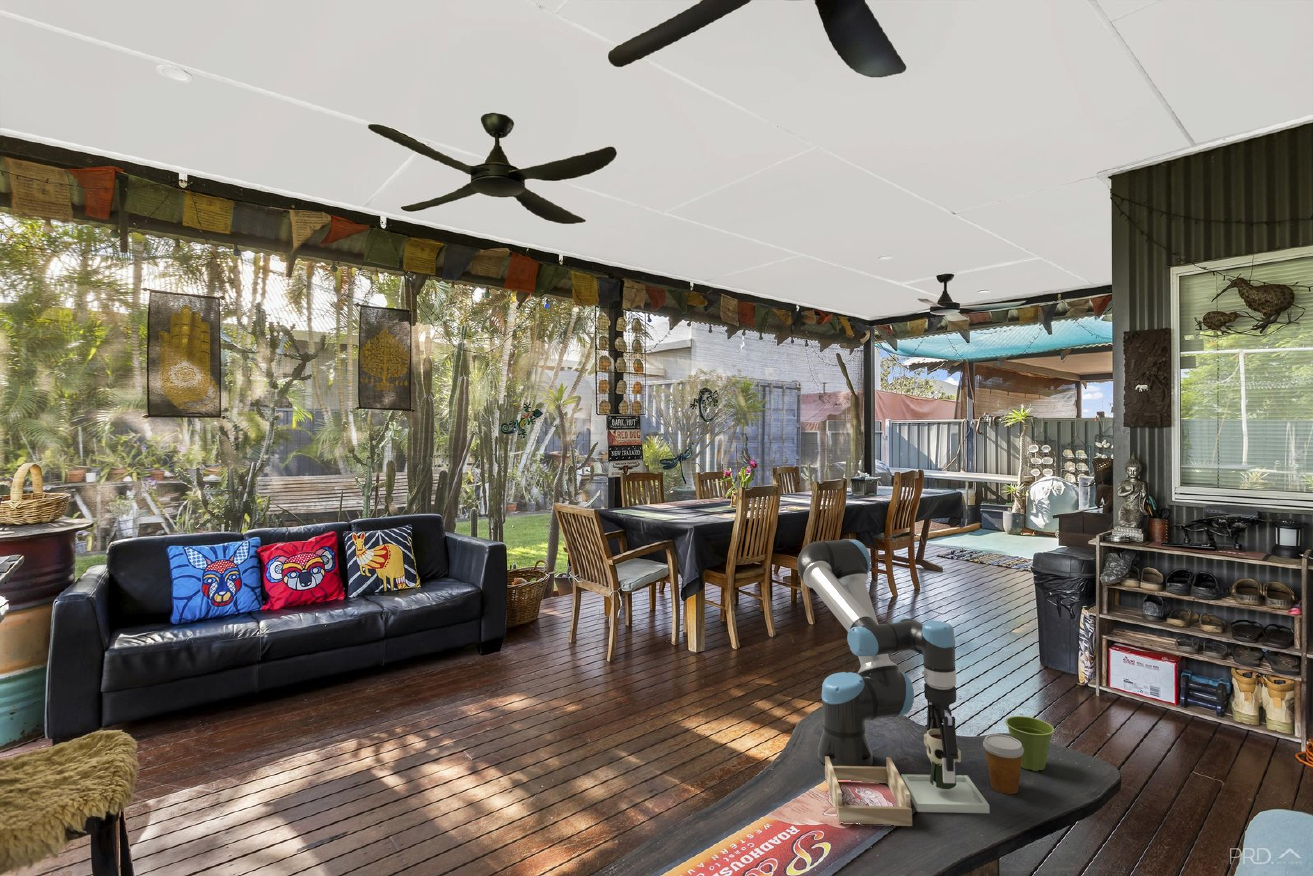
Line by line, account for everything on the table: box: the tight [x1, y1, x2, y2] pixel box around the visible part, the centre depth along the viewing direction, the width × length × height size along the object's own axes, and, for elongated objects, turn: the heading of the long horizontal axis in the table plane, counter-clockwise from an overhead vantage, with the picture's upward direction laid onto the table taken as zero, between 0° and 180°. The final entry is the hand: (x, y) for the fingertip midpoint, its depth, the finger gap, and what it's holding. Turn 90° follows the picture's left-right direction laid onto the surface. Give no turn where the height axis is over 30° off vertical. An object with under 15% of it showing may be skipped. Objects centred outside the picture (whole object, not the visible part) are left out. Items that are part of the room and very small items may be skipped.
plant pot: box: [1004, 715, 1055, 772], centre depth 182 cm, size 12×12×11 cm
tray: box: [900, 773, 990, 814], centre depth 167 cm, size 14×17×2 cm
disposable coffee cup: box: [982, 733, 1024, 795], centre depth 171 cm, size 10×10×12 cm
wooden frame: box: [824, 756, 913, 827], centre depth 166 cm, size 20×17×7 cm
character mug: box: [923, 729, 962, 789], centre depth 167 cm, size 11×7×13 cm, turn 27°
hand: (942, 772), depth 167 cm, fingers closed on character mug, 9 cm apart
